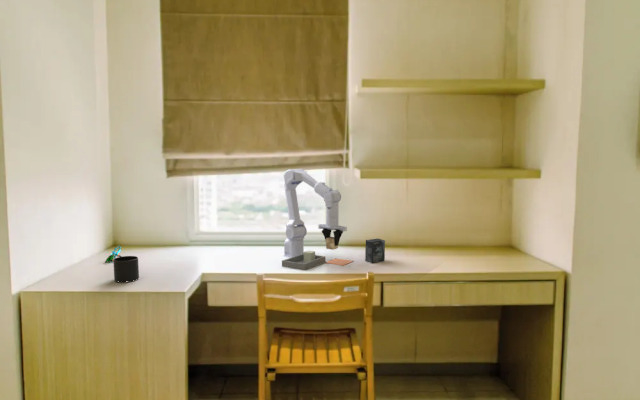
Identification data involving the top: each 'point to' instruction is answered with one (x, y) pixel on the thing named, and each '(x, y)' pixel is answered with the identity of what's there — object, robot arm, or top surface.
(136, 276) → the mug
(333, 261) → the mat
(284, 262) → the tray
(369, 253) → the box
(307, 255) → the plain block
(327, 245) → the label block
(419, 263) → the top surface
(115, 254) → the stick construction toy
